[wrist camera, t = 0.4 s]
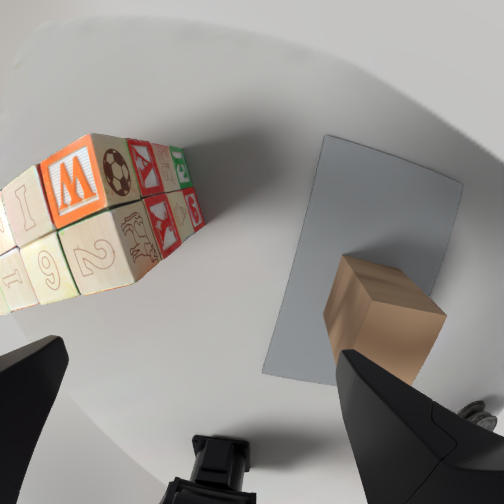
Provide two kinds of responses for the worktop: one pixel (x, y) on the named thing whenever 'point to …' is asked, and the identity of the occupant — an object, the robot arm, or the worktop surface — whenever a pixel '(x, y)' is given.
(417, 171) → the slate mat
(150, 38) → the worktop surface
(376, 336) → the walnut block
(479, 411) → the grey stone statuette
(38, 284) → the stack of blocks
